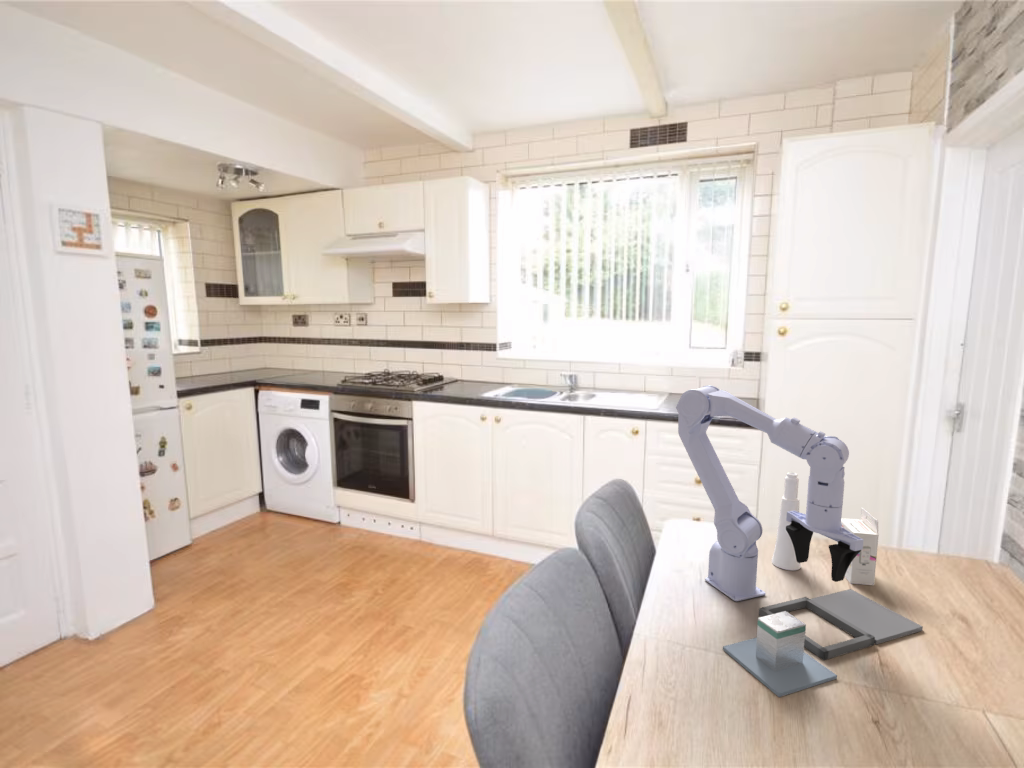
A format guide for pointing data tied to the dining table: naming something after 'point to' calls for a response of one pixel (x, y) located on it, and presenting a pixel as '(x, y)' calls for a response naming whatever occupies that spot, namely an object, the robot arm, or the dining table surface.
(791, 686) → the pad
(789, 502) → the cosmetic bottle
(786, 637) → the block
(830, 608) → the hinged gray frame
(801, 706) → the dining table surface
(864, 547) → the ink cartridge box
